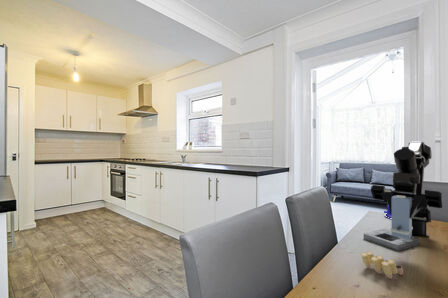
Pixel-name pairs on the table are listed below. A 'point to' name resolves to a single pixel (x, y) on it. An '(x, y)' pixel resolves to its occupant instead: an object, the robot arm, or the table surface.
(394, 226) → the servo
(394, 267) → the ammunition
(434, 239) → the table surface
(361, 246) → the table surface
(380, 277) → the table surface
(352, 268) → the table surface
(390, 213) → the cable clip
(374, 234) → the plate
